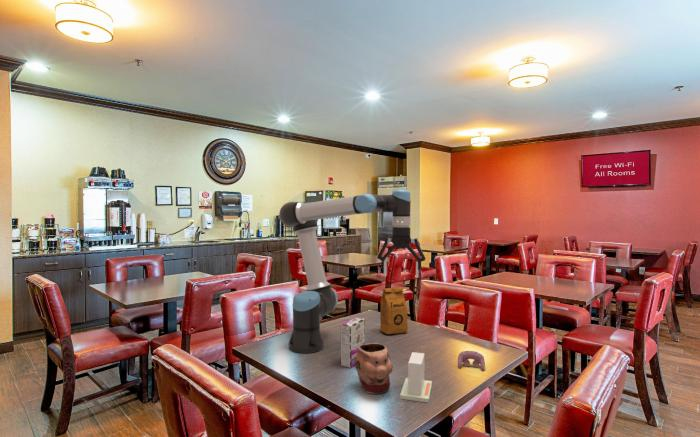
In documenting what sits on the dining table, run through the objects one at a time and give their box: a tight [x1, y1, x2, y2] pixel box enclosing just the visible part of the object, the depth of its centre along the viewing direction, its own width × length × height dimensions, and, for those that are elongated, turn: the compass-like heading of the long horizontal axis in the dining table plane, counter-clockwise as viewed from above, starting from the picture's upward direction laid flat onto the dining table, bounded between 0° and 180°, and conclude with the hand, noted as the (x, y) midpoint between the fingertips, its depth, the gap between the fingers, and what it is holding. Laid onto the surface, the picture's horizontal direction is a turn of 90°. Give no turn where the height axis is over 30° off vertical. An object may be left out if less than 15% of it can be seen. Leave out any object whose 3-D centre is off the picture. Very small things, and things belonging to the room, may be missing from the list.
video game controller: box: [457, 350, 486, 372], centre depth 150 cm, size 10×5×7 cm, turn 73°
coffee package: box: [379, 286, 409, 335], centre depth 190 cm, size 10×12×22 cm
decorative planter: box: [354, 342, 394, 395], centre depth 133 cm, size 20×12×14 cm, turn 23°
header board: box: [399, 377, 433, 403], centre depth 130 cm, size 9×13×6 cm
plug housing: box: [407, 351, 426, 395], centre depth 130 cm, size 10×4×10 cm, turn 163°
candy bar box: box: [340, 316, 366, 369], centre depth 153 cm, size 11×5×16 cm, turn 148°
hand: (401, 276), depth 165 cm, fingers open, 13 cm apart
